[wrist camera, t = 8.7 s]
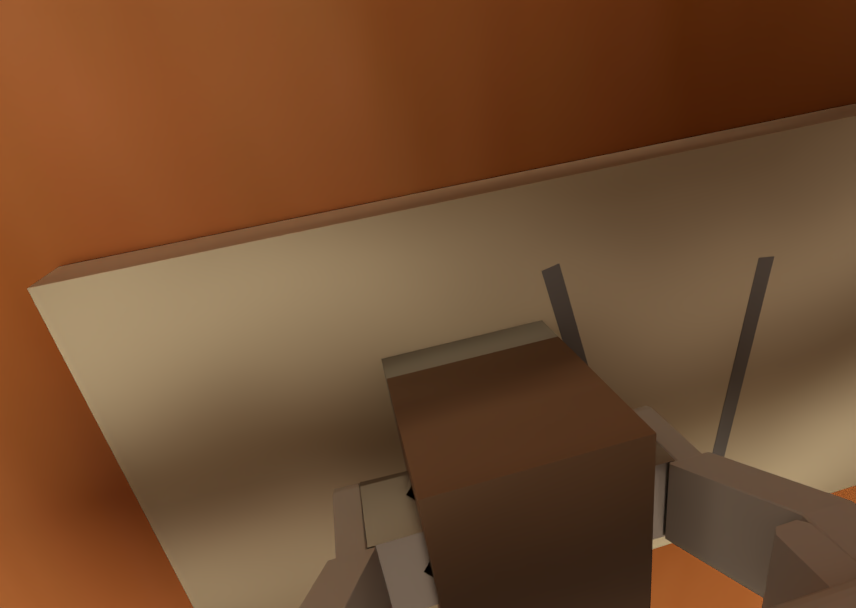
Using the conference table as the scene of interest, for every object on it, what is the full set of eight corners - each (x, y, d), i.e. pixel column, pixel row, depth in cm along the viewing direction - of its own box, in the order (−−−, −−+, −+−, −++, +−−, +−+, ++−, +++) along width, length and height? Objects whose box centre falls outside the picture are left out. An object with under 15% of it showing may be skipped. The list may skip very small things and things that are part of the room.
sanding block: (381, 358, 10) (418, 499, 7) (542, 320, 11) (656, 433, 7) (420, 534, 12) (464, 714, 9) (554, 495, 13) (648, 652, 9)
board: (59, 266, 10) (26, 288, 9) (944, 85, 12) (1007, 84, 11) (238, 636, 14) (232, 681, 13) (859, 447, 17) (897, 472, 16)
